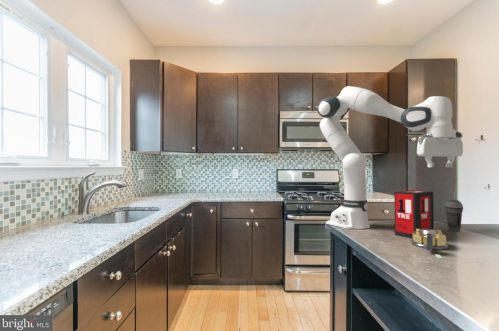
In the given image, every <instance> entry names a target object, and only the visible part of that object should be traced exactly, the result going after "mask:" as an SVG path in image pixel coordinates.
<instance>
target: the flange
mask: <svg viewBox="0 0 499 331" xmlns="http://www.w3.org/2000/svg"><path fill="white" fill-rule="evenodd" d="M436 230H437V229H436ZM436 230H435V229H434V230H432V229H422V232H423V235H424V236H427V234H432V237H435V234H436ZM410 242H411V245H413V246H414V247H418V248H421V249H426V250H427V245H424V244H420V243H417V242H414V241H413V239H411V240H410ZM448 249H449V244H447V243H446V246H433V250H436V251H445V250H448Z"/></svg>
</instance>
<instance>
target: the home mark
mask: <svg viewBox="0 0 499 331" xmlns="http://www.w3.org/2000/svg"><path fill="white" fill-rule="evenodd" d="M435 257H436V258H437V259H440V260H443V257H442V256H441V254H435Z"/></svg>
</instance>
